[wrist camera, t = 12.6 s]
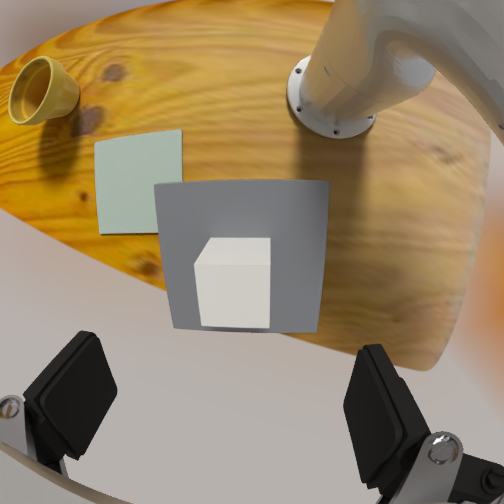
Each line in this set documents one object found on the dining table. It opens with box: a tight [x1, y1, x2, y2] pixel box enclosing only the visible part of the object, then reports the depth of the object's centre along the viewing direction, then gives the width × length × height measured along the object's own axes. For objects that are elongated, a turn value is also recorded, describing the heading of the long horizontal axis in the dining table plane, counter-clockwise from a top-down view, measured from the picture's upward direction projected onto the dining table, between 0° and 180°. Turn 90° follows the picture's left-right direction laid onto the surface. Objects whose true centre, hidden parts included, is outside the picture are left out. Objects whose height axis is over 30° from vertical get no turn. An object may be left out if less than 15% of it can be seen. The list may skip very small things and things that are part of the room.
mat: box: [95, 129, 183, 234], centre depth 35 cm, size 14×14×1 cm
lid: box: [154, 179, 330, 333], centre depth 20 cm, size 13×13×6 cm
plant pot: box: [8, 56, 80, 125], centre depth 27 cm, size 10×10×10 cm
